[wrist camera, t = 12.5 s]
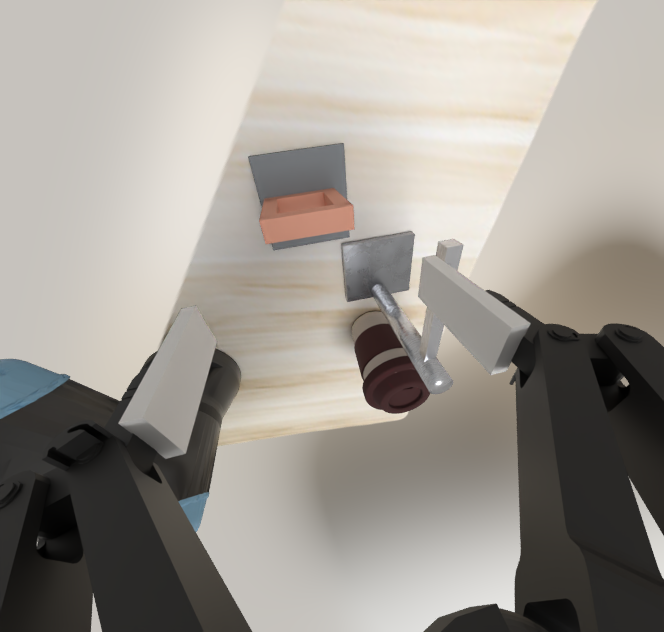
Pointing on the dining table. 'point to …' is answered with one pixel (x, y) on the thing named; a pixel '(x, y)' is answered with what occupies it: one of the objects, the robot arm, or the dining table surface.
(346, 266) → the stand
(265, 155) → the coaster
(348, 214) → the link
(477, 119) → the dining table surface
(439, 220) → the dining table surface
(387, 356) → the coffee cup
